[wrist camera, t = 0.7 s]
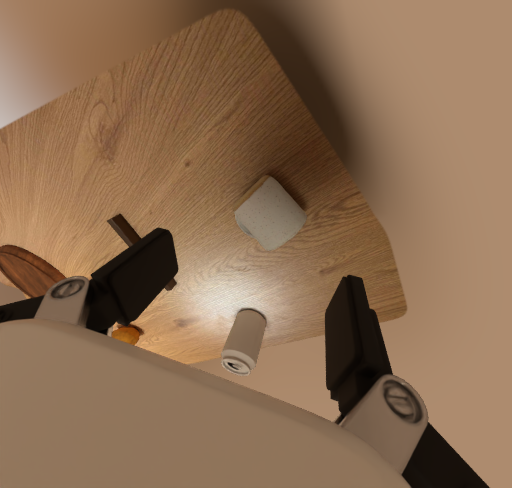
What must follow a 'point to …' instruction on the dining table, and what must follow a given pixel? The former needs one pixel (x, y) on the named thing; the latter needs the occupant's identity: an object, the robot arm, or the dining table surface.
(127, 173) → the dining table surface
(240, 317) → the can
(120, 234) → the back rail
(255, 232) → the ceramic mug
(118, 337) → the potato
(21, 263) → the cutting board
